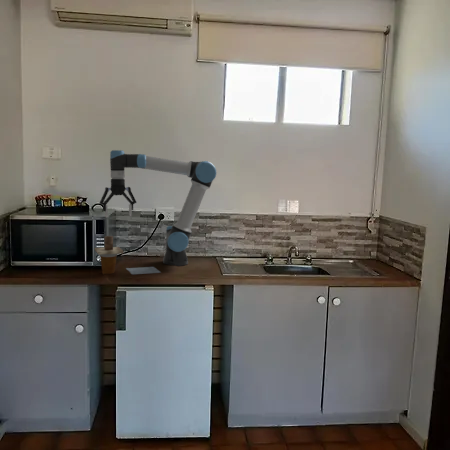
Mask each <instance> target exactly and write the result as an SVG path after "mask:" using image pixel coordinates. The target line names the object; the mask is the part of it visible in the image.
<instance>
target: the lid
mask: <svg viewBox="0 0 450 450" xmlns="http://www.w3.org/2000/svg"><path fill="white" fill-rule="evenodd" d="M94 251H95V252H96V253H97V255H99V254H117V255H118V254H119V255H120V254H124V250H123V249H122V248H120V247H119V246H114V236H113V235H105V236H104V247H94ZM99 256H100V255H99Z"/></svg>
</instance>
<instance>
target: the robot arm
mask: <svg viewBox="0 0 450 450" xmlns="http://www.w3.org/2000/svg"><path fill="white" fill-rule="evenodd" d="M109 153H110V157H109V158H110V159H109V161H110V162H109V163H110V164H109V165H110V178H111V179H110V187H105V188H104V192H103V194H102V197H101V199H100V200H99V205H101V206H102V209H103V210H102V211H103V212H104V216H105V218H108V216H109V214H108V205H107V204H108V203H109V202H110V200H111V199H112V198H113V197H114V196H123V197H124V198H125V200H126V201H127V202H129V204H128V216H129V217H132V216H133V213H132V212H133V211H134V205H135V204H137V200H136V199H135V196H134V194H133V192H132V188H131V187H130V186H127V187H126V186H125V185H126V184H125V183H126V181H125V180H126V179H124V178H125V169H127V168H128V169H129V168H130V169H143V170H151V171H158V172H164V173H169V174H178V175H184V176H187V177H188V178H190V182H191V186H190V188H189V190H188V193H187V196H186V198H185V202H183V206H182V209H181V210H180V214H179V216H178V219H177V221H176V223H174V224H172V225H167V227H166V230H165V232H166V233H165V235H166V237H165V238H166V241H165V242H166V243H165V252H164V256H163V258H162V263H163V264H164V265H167V266H168V265H169V266H176V267H181V266H186V265H188V264H189V260H188V256H187V251H186V249H188V248H187V247H188V246H189V243H190V241H189V240H190V238H191V235H192V232H193V231H192V226H193V223H194V220H195V218H196V216H197V213H198V210H199V208H200V205H201V203H202V201H203V198H204V196H205V193H206V191H207V190H209V189H210V188H211V185H212V183H213V181H214V180H215V179H216V177H217V168H216V166H215V165H214V164H213V163H212V162H210V161H208V160H207V161H206V160H205V161H203V160H202V161H188V162H186V161H181V160H180V161H179V160H174V159H168V158H161V157H155V156H154V157H153V156H148V155H146V154H143V153H142V154H141V153H132V154H131V153H130V154H129V153H125V151H124V150H121V149H120V150H119V149H117V150H116V149H113V150H111V151H110V152H109ZM109 191H111V192H110V194H109V195H108V193H109ZM126 191H127V193H128V195H129V196H130V197H129V196H128V195H127V193H126ZM106 197H107V198H106Z"/></svg>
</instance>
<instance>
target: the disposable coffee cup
mask: <svg viewBox="0 0 450 450" xmlns="http://www.w3.org/2000/svg"><path fill="white" fill-rule="evenodd" d="M117 256H118V254H99V257H100V266H101V272H102V275H107V274H109V275H111V274H114V273H115V271H116V265H117Z"/></svg>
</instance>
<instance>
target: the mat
mask: <svg viewBox="0 0 450 450" xmlns="http://www.w3.org/2000/svg"><path fill="white" fill-rule="evenodd" d="M125 269H126V270H127V271H128V272H129V273H130V274H131V275H142V274H144V275H145V274H159V273H160V274H161V273H162V271H160V270H159V269H157V268H156V267H155V266H145V267H144V266H143V267H130V268H129V267H126V268H125Z"/></svg>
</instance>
